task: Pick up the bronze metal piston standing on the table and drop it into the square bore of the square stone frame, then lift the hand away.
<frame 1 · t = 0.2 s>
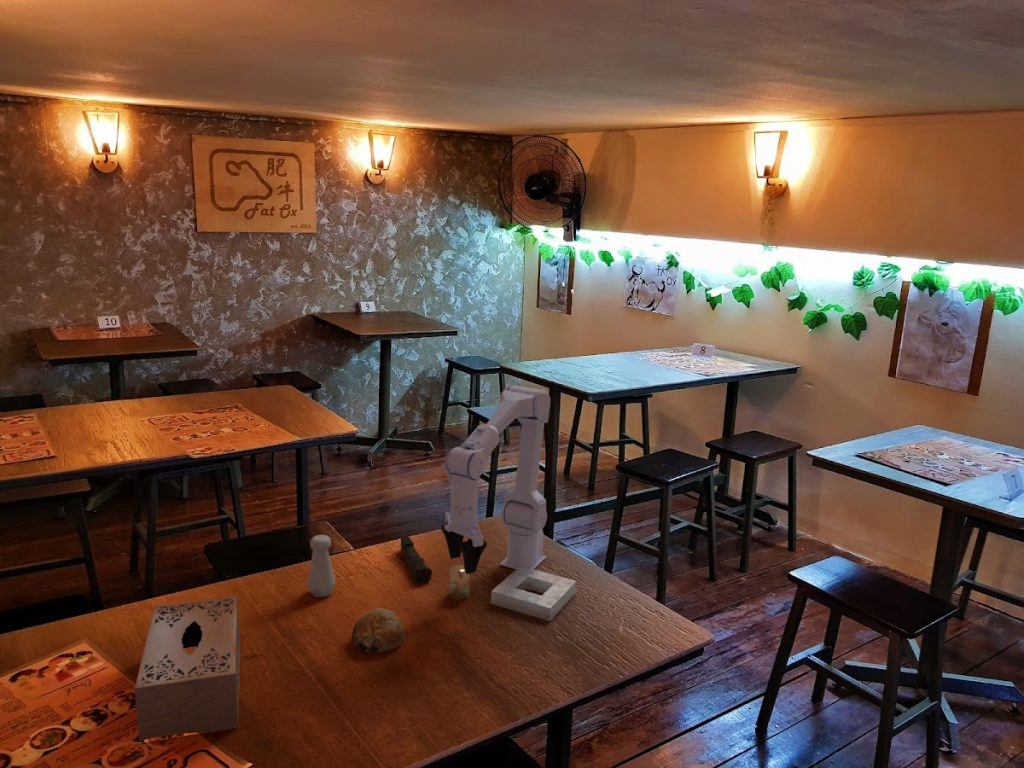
hand: (462, 564, 159), 10 cm above the table, tool pointing down, fingers open, 7 cm apart
tissue box cover: (195, 690, 131), on the table
bread roll: (377, 642, 147), on the table
piston: (459, 594, 166), on the table
hand tool: (410, 567, 179), on the table
salt shaker: (321, 593, 165), on the table
square stone frame: (534, 598, 166), on the table
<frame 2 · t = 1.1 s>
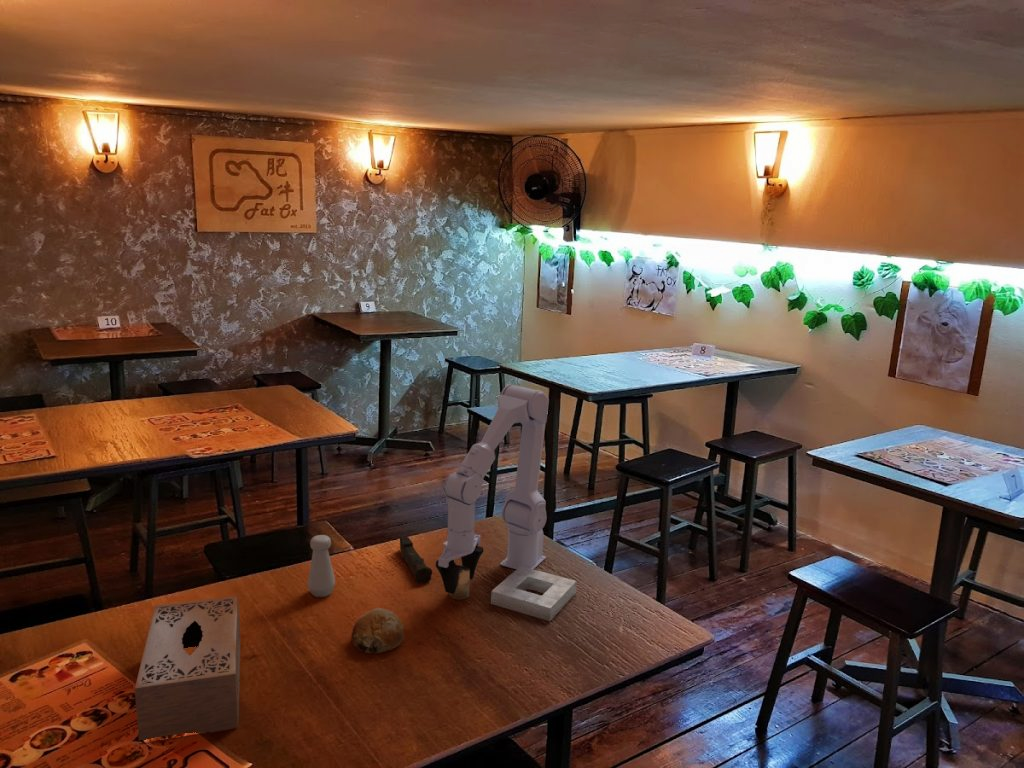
hand: (459, 585, 166), 2 cm above the table, tool pointing down, fingers open, 7 cm apart
nothing on the table moved.
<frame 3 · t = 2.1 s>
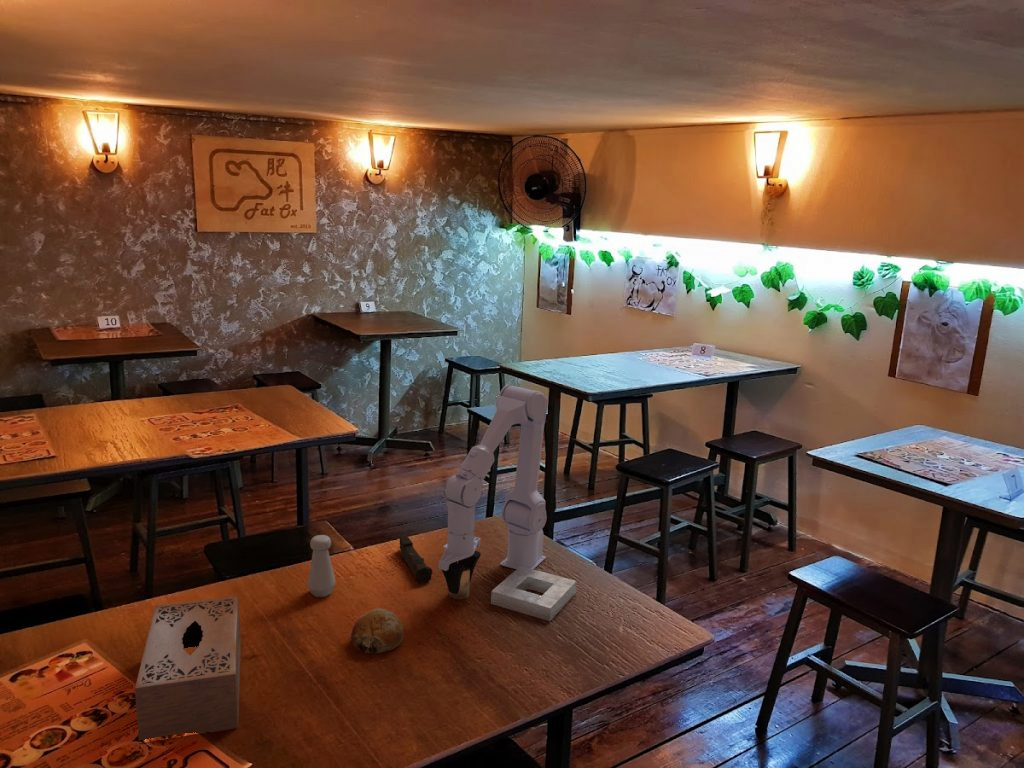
hand: (459, 587, 166), 2 cm above the table, tool pointing down, fingers closed on piston, 4 cm apart
piston: (459, 594, 166), on the table, touching gripper
everything else where it was.
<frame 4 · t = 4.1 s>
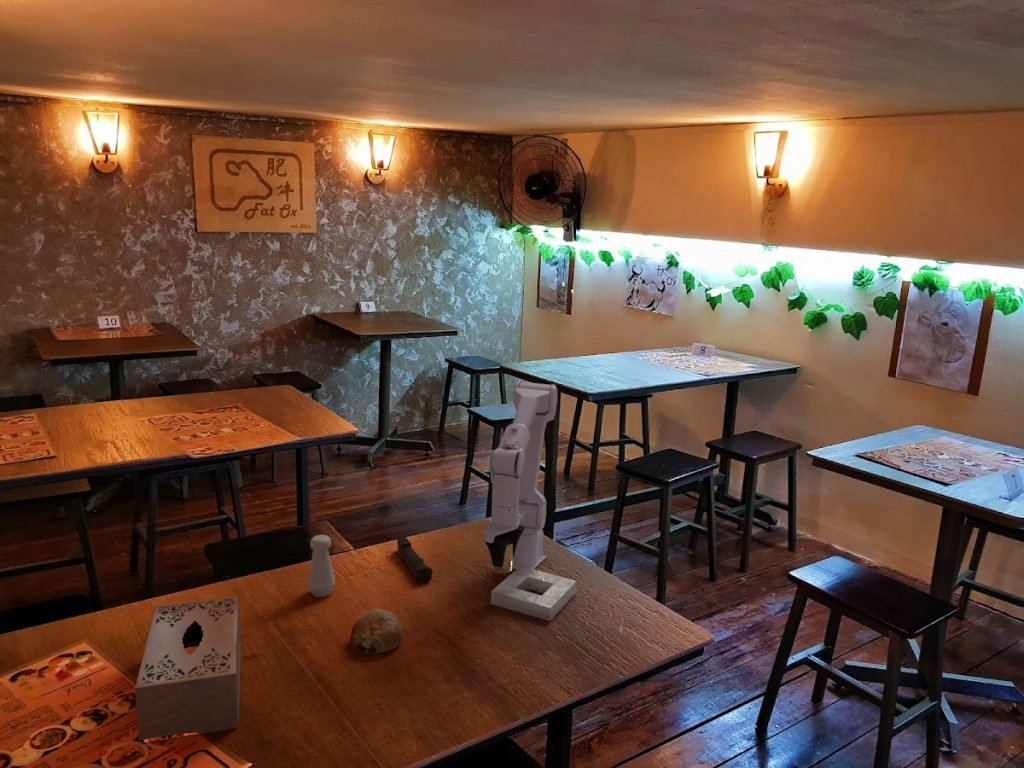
hand: (503, 561, 164), 8 cm above the table, tool pointing down, fingers closed on piston, 4 cm apart
piston: (502, 568, 165), point 7 cm above the table, touching gripper
everything else where it was.
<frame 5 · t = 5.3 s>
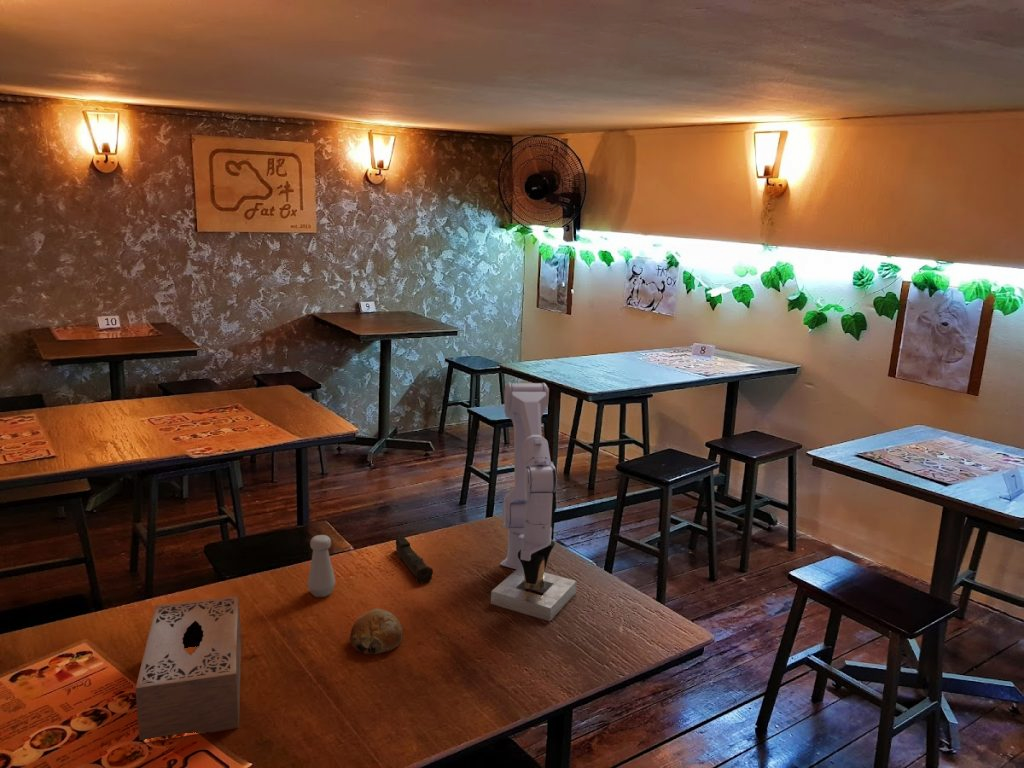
hand: (535, 577, 165), 5 cm above the table, tool pointing down, fingers closed on piston, 4 cm apart
piston: (533, 585, 165), point 3 cm above the table, touching gripper
everything else where it was.
when the fingers open (5 cm above the table, at t = 6.1 s): piston drops 3 cm, resting in square stone frame.
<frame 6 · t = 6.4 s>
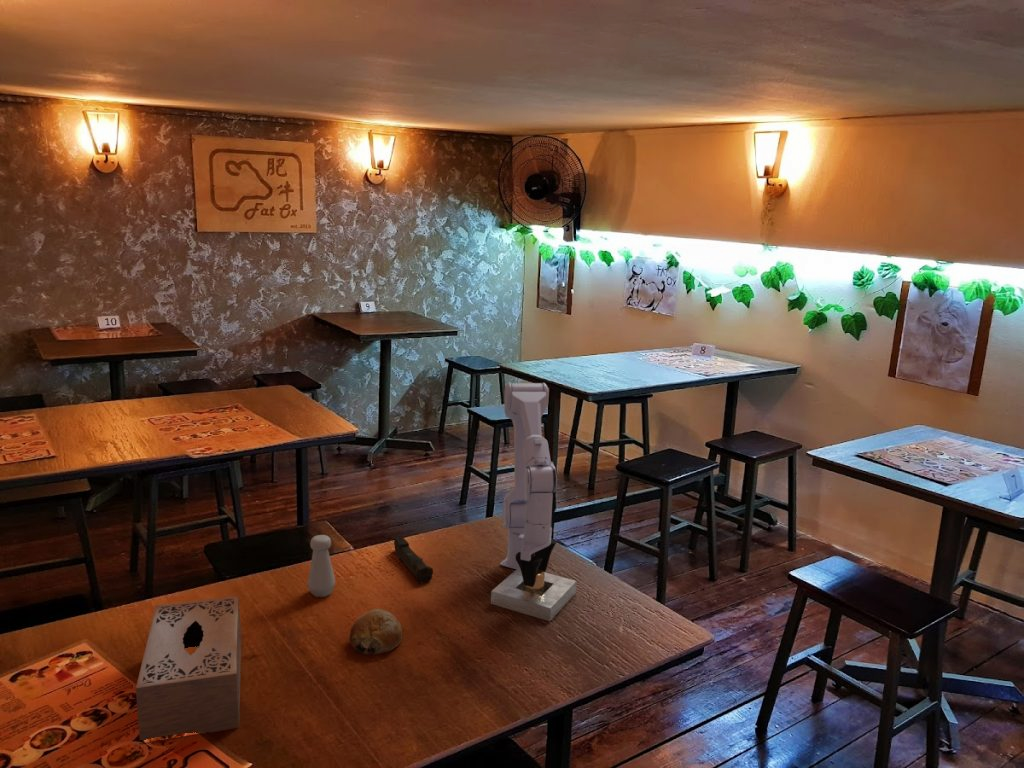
hand: (535, 577, 165), 5 cm above the table, tool pointing down, fingers open, 7 cm apart
piston: (533, 598, 166), resting in square stone frame
everything else where it was.
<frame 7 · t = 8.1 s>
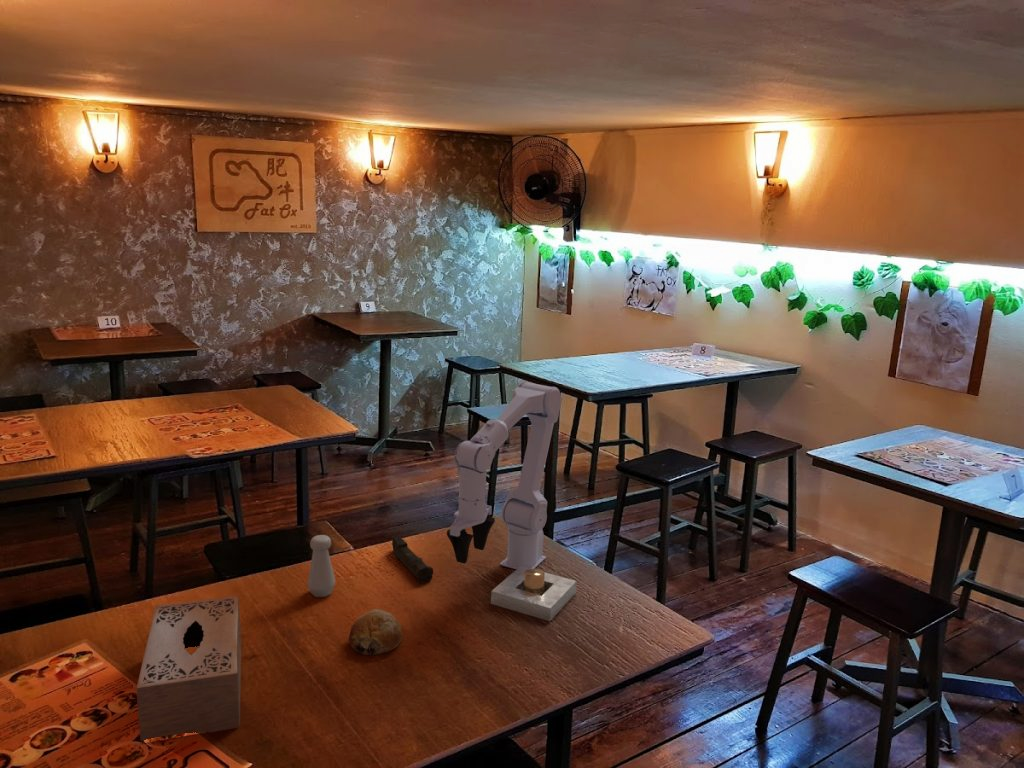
hand: (470, 555, 164), 9 cm above the table, tool pointing down, fingers open, 7 cm apart
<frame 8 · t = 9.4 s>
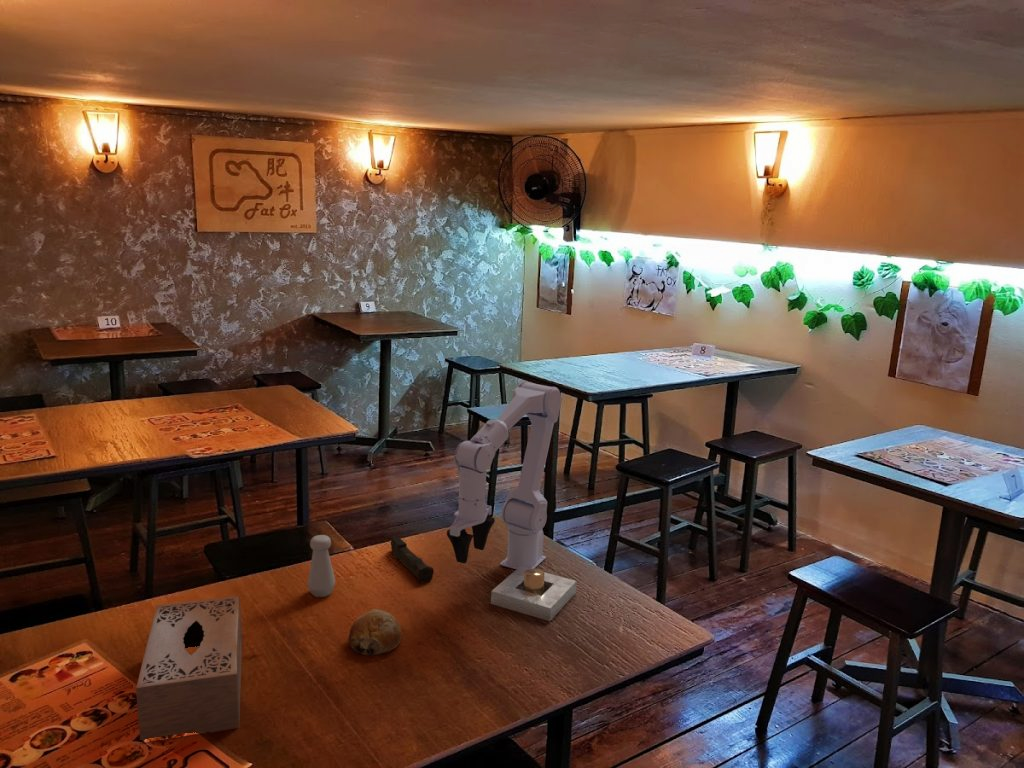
hand: (470, 555, 164), 9 cm above the table, tool pointing down, fingers open, 7 cm apart
at the end: piston 0.2 cm off-centre on the square stone frame, point 0.0 cm above the square stone frame's base; piston tilted 0°; the gripper is holding nothing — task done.
